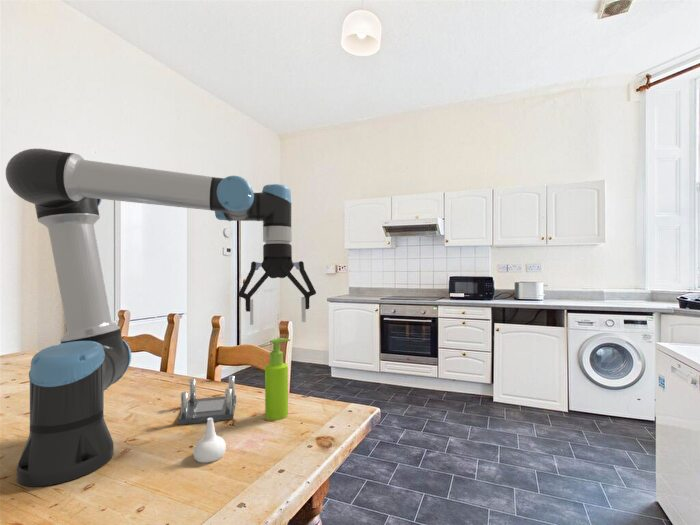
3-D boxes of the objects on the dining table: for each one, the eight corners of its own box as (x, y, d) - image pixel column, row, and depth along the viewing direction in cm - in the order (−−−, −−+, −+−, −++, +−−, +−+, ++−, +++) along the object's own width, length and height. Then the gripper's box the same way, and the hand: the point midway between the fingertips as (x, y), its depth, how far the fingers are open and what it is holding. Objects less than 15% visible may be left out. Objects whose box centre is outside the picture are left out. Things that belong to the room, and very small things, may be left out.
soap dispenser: (295, 413, 96) (295, 338, 97) (274, 421, 91) (273, 342, 92) (282, 408, 100) (281, 336, 101) (261, 415, 95) (260, 339, 96)
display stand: (233, 419, 93) (233, 390, 93) (178, 425, 90) (178, 394, 90) (236, 400, 107) (236, 374, 107) (188, 404, 103) (188, 378, 104)
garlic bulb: (214, 468, 71) (218, 428, 71) (186, 462, 72) (189, 423, 72) (230, 452, 77) (233, 415, 77) (204, 447, 78) (207, 410, 78)
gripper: (321, 244, 104) (321, 318, 103) (229, 244, 97) (230, 323, 97) (325, 242, 96) (326, 322, 96) (227, 242, 90) (228, 327, 90)
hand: (278, 322), depth 96 cm, fingers open, 13 cm apart
